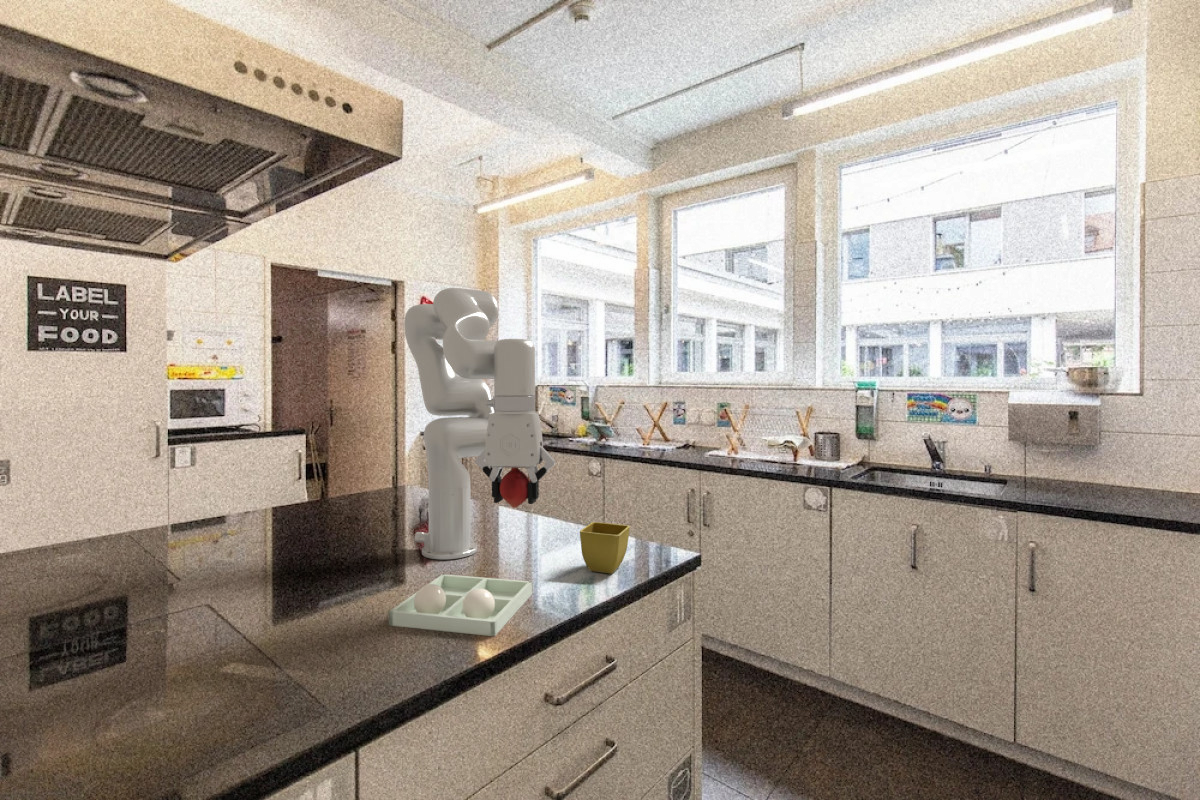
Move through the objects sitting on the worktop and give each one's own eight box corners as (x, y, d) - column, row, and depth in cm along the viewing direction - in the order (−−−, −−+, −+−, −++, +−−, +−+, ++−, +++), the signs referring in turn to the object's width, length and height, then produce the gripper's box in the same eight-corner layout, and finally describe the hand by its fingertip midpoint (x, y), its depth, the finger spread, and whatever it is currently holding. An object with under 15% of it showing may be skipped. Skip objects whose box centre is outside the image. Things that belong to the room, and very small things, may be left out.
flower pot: (630, 565, 124) (630, 525, 124) (618, 578, 116) (618, 535, 116) (592, 561, 127) (592, 521, 127) (578, 573, 119) (578, 531, 119)
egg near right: (456, 625, 91) (456, 593, 91) (470, 613, 96) (470, 582, 96) (487, 628, 90) (487, 596, 90) (499, 615, 95) (499, 585, 95)
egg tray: (388, 631, 91) (388, 611, 91) (442, 590, 109) (442, 574, 109) (494, 642, 87) (494, 621, 87) (532, 598, 105) (532, 581, 105)
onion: (533, 504, 109) (533, 463, 109) (527, 511, 103) (527, 467, 103) (503, 504, 109) (503, 462, 109) (496, 510, 103) (496, 467, 103)
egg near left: (407, 620, 93) (407, 589, 93) (423, 608, 98) (423, 578, 98) (436, 623, 92) (436, 592, 92) (451, 611, 97) (451, 581, 97)
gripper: (462, 406, 103) (463, 504, 104) (554, 406, 101) (555, 508, 101) (478, 405, 111) (479, 497, 111) (564, 405, 108) (564, 499, 108)
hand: (515, 501), depth 106 cm, fingers closed on onion, 5 cm apart
